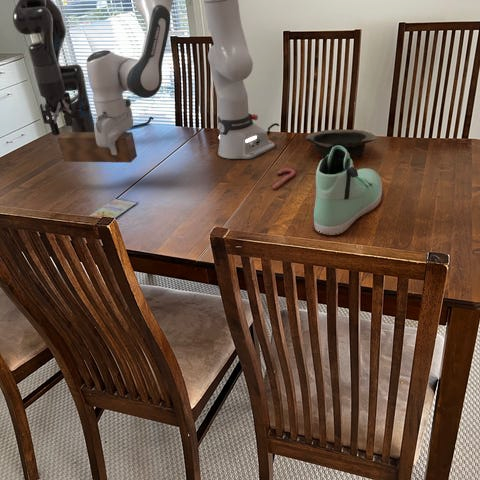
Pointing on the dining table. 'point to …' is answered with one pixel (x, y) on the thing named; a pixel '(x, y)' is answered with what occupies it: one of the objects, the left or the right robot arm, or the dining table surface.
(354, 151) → the stone bowl
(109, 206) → the baking ingredient package
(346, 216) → the sneaker
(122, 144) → the bar
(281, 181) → the candy cane
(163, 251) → the dining table surface
